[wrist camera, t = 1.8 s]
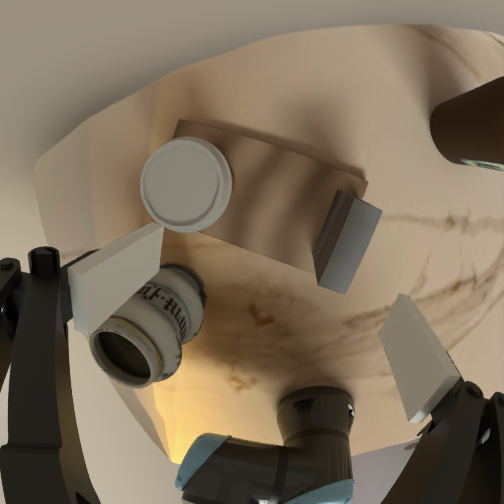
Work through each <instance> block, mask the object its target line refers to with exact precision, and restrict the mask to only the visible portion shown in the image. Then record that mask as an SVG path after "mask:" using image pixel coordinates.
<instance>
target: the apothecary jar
mask: <svg viewBox="0 0 504 504" xmlns="http://www.w3.org/2000/svg"><path fill="white" fill-rule="evenodd" d="M203 286H204V284H203V282H202V280H201V279H200V277H199V276H198V275H197V274H196V273H195V272H194V271H193V270H191V269H190V268H188V267H187V266H185V265H182V264H179V263H167V264H163V265H161V266H159V272H158V273H157V274H155V275H154V276H153V277H152V278H151V279H150V280H149V281H148V282H147V283H145V284H144V285H143V286H142V287H141V288H140V289H139V290H138V291H137V292H136V293H134V294H133V295H132V296H131V297H130V298H129V299H128V300H127V301H126V302H125V303H124V304H123V305H121V306H120V307H119V308H118V309H117V310H116V311H115V312H114V313H113V314H112V315H111V316H110V317H109V318H108V319H107V320H106V321H105V322H103V323H102V324H101V325H100V326H99V327H98V328H97V329H96V330H95V331H94V332H93V333H92V334H91V336H90V342H89V343H90V350H91V352H92V356H93V358H94V359H95V361H96V363H97V364H98V365H99V367H100V368H101V369H102V370H103V371H104V372H105V373H106V374H107V375H108V376H109V377H111V378H112V379H113V380H115V381H117V382H118V383H120V384H122V385H125V386H127V387H131V388H144V387H147V386H149V385H150V384H151V383H152V382H159V381H162V380H165V379H167V378H169V377H171V376H172V375H173V374H174V373H175V372H176V371H177V369H178V367H179V365H180V363H181V359H182V347H181V345H183V344H185V343H187V342H189V341H191V340H192V339H193V338H194V337H195V336H196V335H197V334H198V332H199V330H200V328H201V325H202V322H203V309H204V308H205V305H206V301H207V296H206V295H205V293H204V291H203Z"/></svg>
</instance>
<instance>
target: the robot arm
mask: <svg viewBox="0 0 504 504" xmlns="http://www.w3.org/2000/svg"><path fill="white" fill-rule="evenodd" d="M163 233H164V225H161V224H157V223H154V222H151V223H149V224H147V225H145V226H143V227H141V228H139V229H138V230H136V231H134V232H132V233H130V234H128V235H126V236H124V237H122V238H120V239H118V240H116V241H115V242H113V243H111V244H109V245H107V246H105V247H104V248H102V249H97V250H93V251H89V252H87V253H85V254H84V255H82V257H81V256H80V257H78V258H76V260H73V261H71V262H69V263H68V264H66V265H64V266H62V267H61V268H60V256H59V251H58V250H57V249H56V248H53V247H47V246H45V247H38V248H35V249H33V250H31V251H30V252H29V253H28V259H29V268H30V273H25V272H21V267H20V261H19V260H17V259H14V258H3V259H2V260H0V391H1V389H2V385H3V382H4V379H5V377H6V374H7V371H8V369H9V366H10V364H11V369H10V379H9V394H8V443H7V444H6V445H3V446H1V448H0V472H1V479H2V486H3V492H4V497H5V502H6V504H101V503H100V500H99V498H98V496H97V494H96V492H95V490H94V488H93V486H92V484H91V481H90V478H89V474H88V471H87V468H86V464H85V460H84V456H83V452H82V447H81V443H80V438H79V434H78V428H77V424H76V417H75V411H74V404H73V397H72V389H71V379H70V366H69V347H68V325H67V322H68V321H69V320H70V319H72V318H73V322H74V328H75V330H77V331H79V332H81V333H83V334H84V335H86V336H88V337H89V336H90V335H91V334H92V333H93V332H94V331H95V330H96V329H97V328H98V327H99V326H100V325H101V324H102V323H103V322H105V321H106V320H107V319H108V318H109V317H110V316H111V315H112V314H113V313H114V312H115V311H116V310H117V309H118V308H119V307H120V306H121V305H123V304H124V303H125V302H126V301H127V300H128V299H129V298H130V297H131V296H132V295H133V294H134V293H136V292H137V291H138V290H139V289H140V288H141V287H142V286H143V285H144V284H145V283H147V282H148V281H149V280H150V279H151V278H152V277H153V276H154V275H155V274H157V273H158V272H159V265H160V257H161V248H162V240H163ZM2 309H3V311H2V312H1V310H2ZM378 334H379V337H380V339H381V342H382V345H383V347H384V350H385V353H386V355H387V358H388V361H389V364H390V366H391V369H392V372H393V375H394V378H395V381H396V384H397V387H398V390H399V393H400V396H401V399H402V402H403V405H404V409H405V412H406V415H407V419H408V422H422V421H423V420H424V419H425V418H426V417H427V416H428V415H429V414H430V413H431V416H432V420H431V421H430V422H429V423H428V424H427V425H426V426H425V427H424V428H423V429H422V430H421V431H420V432H419V433H418V434H417V436H419V435H420V434H422V436H421V438H420V440H419V442H418V444H417V446H416V448H415V450H414V452H413V454H412V455H411V457H410V459H409V461H408V462H407V464H406V466H405V467H404V469H403V471H402V473H401V474H400V476H399V477H398V479H397V480H396V482H395V484H394V485H393V487H392V488H391V489H390V491H389V492H388V494H387V495H386V497H385V498H384V499H383V501H382V502H381V504H504V394H502V393H501V392H495V393H494V395H493V396H492V397H491V398H490V399H486V398H484V397H483V393H482V391H481V389H480V388H479V387H478V386H477V385H476V384H474V383H472V382H470V381H466V382H464V380H463V378H462V376H461V374H460V373H459V371H458V369H457V367H456V366H455V365H454V362H453V360H451V357H450V355H449V354H448V352H447V351H446V350H445V349H444V347H443V345H442V344H441V342H440V341H439V339H438V337H437V336H436V334H435V333H434V331H433V330H432V328H431V327H430V325H429V324H428V322H427V321H426V319H425V318H424V316H423V315H422V313H421V312H420V310H419V309H418V307H417V306H416V304H415V303H414V302H413V300H412V299H411V297H410V296H407V295H404V294H400V293H399V294H398V296H397V298H396V300H395V303H394V305H393V307H392V309H391V310H390V312H389V314H388V316H387V318H386V320H385V322H384V324H383V326H382V328H381V329H380V331H379V333H378ZM354 416H355V409H354V403H353V400H352V398H351V397H350V396H349V395H348V394H347V393H346V392H344V391H342V390H340V389H337V388H332V387H310V388H305V389H301V390H298V391H296V392H294V393H292V394H290V395H288V396H287V397H285V398H284V399H283V400H282V401H281V403H280V404H279V406H278V411H277V423H278V427H279V430H280V433H281V436H282V439H283V442H284V445H283V446H280V445H273V444H266V443H260V442H254V441H249V440H243V439H239V438H234V437H232V436H230V435H228V436H224V435H219V434H214V433H204V434H202V435H200V436H199V437H198V438H197V439H196V440H195V441H194V442H193V444H192V445H191V447H190V448H189V450H188V452H187V453H186V455H185V457H184V459H183V461H182V464H181V466H180V468H179V471H178V475H177V478H176V481H175V485H176V487H177V488H178V489H179V490H180V491H184V493H183V496H182V499H181V501H182V502H183V504H350V502H351V501H352V498H353V484H354V480H353V475H352V463H351V453H350V445H349V434H350V431H351V427H352V424H353V420H354ZM489 432H490V436H489V438H488V439H487V440H486V441H485V442H484V443H483V444H482V439H483V438H484V437H485V436H486V435H487V434H488V433H489Z"/></svg>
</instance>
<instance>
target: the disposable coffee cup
mask: <svg viewBox="0 0 504 504" xmlns="http://www.w3.org/2000/svg"><path fill="white" fill-rule="evenodd" d="M234 189H235V176H234V172H233V170H232V168H231V167H230V166H229V165H228V163H227V161H226V159H225V157H224V156H223V155H222V153H221V152H220V151H219V150H218V149H217V148H216V147H215V146H213V145H212V144H211V143H209V142H207V141H205V140H203V139H200V138H196V137H178V138H176V139H173V140H170V141H168V142H166V143H164V144H163V145H161V146H160V147H159V148H158V149H157V150H156V151H155V152H154V153H153V154H152V155H151V156H150V157H149V158H148V160H147V162H146V164H145V165H144V167H143V170H142V173H141V177H140V194H141V199H142V202H143V204H144V207H145V209H146V210H147V212H148V213H149V215H150V216H151V217H152V218H153V219H154V220H155V221H156V222H157V223H159V224H161V225H164V227H166V228H167V229H169V230H172V231H175V232H181V233H191V232H197V231H200V230H203V229H205V228H207V227H208V226H210V225H212V224H213V223H214V222H215V221H216V220H217V219H218V218H219V217H220V216H221V215H222V213H223V212H224V210H225V209H226V207H227V205H228V202H229V199H230V197H231V195H232V194H233V192H234Z"/></svg>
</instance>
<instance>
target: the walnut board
mask: <svg viewBox="0 0 504 504" xmlns="http://www.w3.org/2000/svg"><path fill="white" fill-rule="evenodd" d="M178 137H196V138H200V139H203V140H205V141H207V142H209V143H211V144H212V145H213V146H215V147H216V148H217V149H218V150H219V151H220V152H221V153H222V155H223V156H224V157H225V159H226V161H227V163H228V165H229V166H230V167H231V168H232V170H233V172H234V176H235V189H234V192H233V194H232V195H231V197H230V199H229V202H228V205H227V207H226V209H225V210H224V212H223V213H222V215H221V216H220V217H219V218H218V219H217V220H216V221H215V222H214V223H213V224H212V225H210V226H208V227H207V228H205V229H203V230H200V231H197V232H200V233H203V234H206V235H208V236H211V237H214V238H217V239H219V240H222V241H225V242H228V243H231V244H233V245H236V246H239V247H242V248H244V249H247V250H250V251H253V252H255V253H258V254H261V255H264V256H266V257H269V258H272V259H275V260H277V261H280V262H283V263H286V264H289V265H291V266H294V267H297V268H300V269H302V270H305V271H308V272H311V273H313V274H316V278H317V283H318V285H319V286H322V287H324V288H327V289H330V290H333V291H336V292H339V293H341V294H344V295H345V293H346V292H347V289H348V287H349V285H350V283H351V281H352V279H353V277H354V275H355V273H356V271H357V269H358V267H359V265H360V262H361V260H362V258H363V256H364V254H365V251H366V249H367V247H368V245H369V242H370V240H371V238H372V235H373V233H374V231H375V228H376V226H377V223H378V221H379V218H380V216H381V213H382V210H380V209H378V208H376V207H374V206H372V205H371V204H369V203H367V202H365V201H363V200H362V198H363V196H364V193H365V190H366V188H367V185H368V181H365V180H363V179H361V178H359V177H356V176H354V175H352V174H349V173H347V172H345V171H342V170H340V169H337V168H335V167H332V166H330V165H327V164H325V163H322V162H320V161H317V160H315V159H312V158H309V157H306V156H304V155H301V154H298V153H295V152H293V151H290V150H287V149H284V148H281V147H278V146H275V145H272V144H269V143H266V142H263V141H259V140H256V139H253V138H250V137H246V136H243V135H239V134H236V133H232V132H229V131H225V130H221V129H217V128H214V127H210V126H206V125H202V124H197V123H193V122H189V121H184V120H180V119H179V121H178V124H177V127H176V130H175V133H174V136H173V139H176V138H178Z"/></svg>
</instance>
